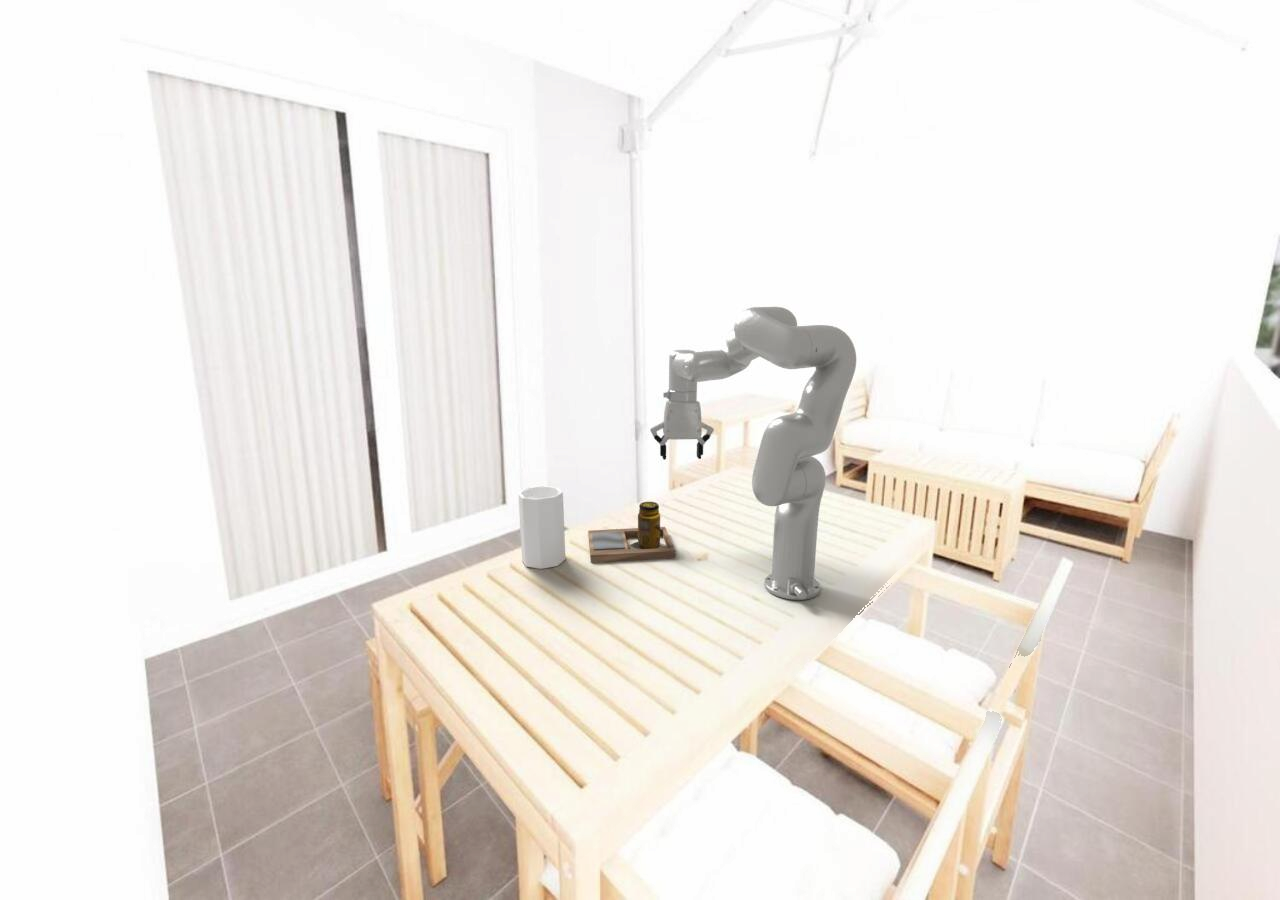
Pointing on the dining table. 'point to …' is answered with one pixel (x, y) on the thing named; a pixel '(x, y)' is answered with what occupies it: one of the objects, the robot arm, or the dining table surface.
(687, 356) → the robot arm
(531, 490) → the cup
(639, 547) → the condiment
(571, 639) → the dining table surface
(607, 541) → the pocket board
